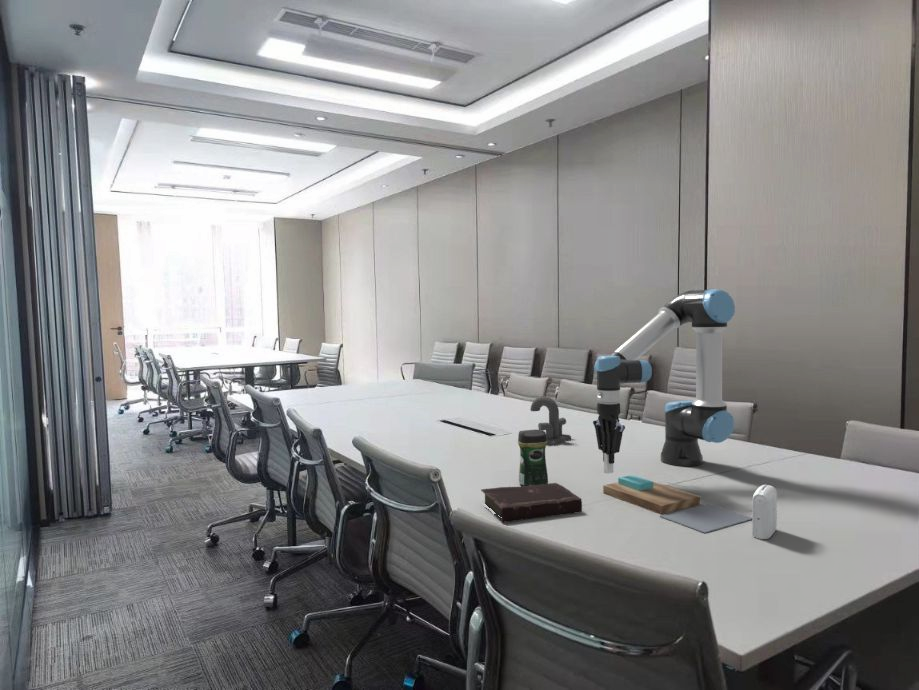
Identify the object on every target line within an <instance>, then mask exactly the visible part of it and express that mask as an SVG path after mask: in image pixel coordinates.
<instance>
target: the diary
mask: <svg viewBox="0 0 919 690" xmlns="http://www.w3.org/2000/svg"><path fill="white" fill-rule="evenodd" d="M480 491H481V492H482V493H483V494H484V503H485V504H486V505H487V506H488V507H489V508H491V509H492V510H493V511H494V512H495V513H496V514H497V515H499V516H500V517H502V518H501V519H502V520H500V522H501V521H502V522H501V523H505V522H504V521H509V522H513V521H512V520H516V521H521V519H523V520H530V519H539V517H540V518H545V517H546V516H547V517H554V516H560V514H562V515H568V514H567V513H570V514H576V513H575V512H579V513H582V511H583V500H582V498H581V497H579V496H578V495H576V494H574V493H573V492H572V491H570V489H568V488H566V487H565V486H563V485H562V484H559V483H557V482H552V483H551V482H550V483H549V482H548V484H540V485H531V486H522V485H521V486H503V487H502V486H499V487H492V488H482V489H480ZM497 515H496V516H497ZM553 515H554V516H553ZM547 517H546V518H547Z"/></svg>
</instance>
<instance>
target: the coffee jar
mask: <svg viewBox="0 0 919 690" xmlns="http://www.w3.org/2000/svg"><path fill="white" fill-rule="evenodd" d="M517 438H518V439H517V444H518V446H519V450H520V452H519V453H520V455H519V472H518V483H519V484H520V486H521V487H522V486H531V485H540V484H549V475H548V469H547V467H548V466H547V462H546V461H547V460H546V447H547V446H548V445H547V438H546V430H541V429H540V430H539V429H526V430H519V431H518V437H517Z"/></svg>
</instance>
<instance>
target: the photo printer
mask: <svg viewBox="0 0 919 690" xmlns="http://www.w3.org/2000/svg"><path fill="white" fill-rule="evenodd" d="M777 497H778V494H777V490H776V488H775V487H774V486H772V485H770V484H762V485H760V486H758V488H756V490H755V492H754V493H753V496H752V520H751V521H752V528H751V529H752V533H751V534H752V537H754V538H755V537H756V538H755V539H758V538H759V539H758V540H763V539H766V540H768V539H770V538H771V536H772V535H774V533H775V532H776V530H777V519H778V516H777V515H778V513H777V512H778V509H777V507H778V506H777V505H778V504H777V503H778V498H777Z"/></svg>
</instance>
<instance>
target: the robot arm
mask: <svg viewBox="0 0 919 690" xmlns="http://www.w3.org/2000/svg"><path fill="white" fill-rule="evenodd" d="M657 311H658V314H656V315H655V316H654V317H653V318H652V319H650V321H648V322H647V323H645V325H643V326H642V327H641V328H640V329H639V330H638V331H637V332H635V333H634V334H633V335H631V336H630V337H629V338H628V339H627V340H626V341H625V342H623V344H622V345H620V346H619V347H618V348H616V349H615V350H614V351H613V352H612V353H610V354H609V355H599V356H598V357H597V359H596V361H595V362H594V373H595V374H596V401H597V404H596V413H597V414H598V416H597V419H596V420H593V421H592V424H593V426H594V429H595V436H596V441H597V442H596V443H597V448H598V450H600V451H602V454H603V455H602V460H603V472H604V473H605V474H613V473H614V463H615V454H617V453H620V449H621V444H622V439H623V433H624V431H625V429H626V426H625V424H624V425H623V424H621V423H620V418H619V415H620V414H621V403H620V402H621V385H623V384H635V383H636V384H637V383H639V384H640V383H646V382H648V381H649V380H650V379H651V377H652V375H653V373H652V372H653V371H652V370H653V368H652V365H651V364H650V362H649V361H647V360H645V359H644V360H643V359H640V357H642V356H643V355H644V354H646V352H648V351H649V350H650V349H651V348H653V346H655V344H657V343H658V342H659V341H660V340H662V339H663V338H664V337H665V336H666V335H667V334H668V333H670V332H671V331H672V330H677V329H679V327H681V326H682V325H684V324H688V323H691V328H692V329H693V330H694V331H695V333H696V334H695V336H696V337H695V338H696V340H695V341H696V346H695V358H696V360H695V363H696V365H695V367H696V368H695V373H696V374H695V385H696V387H695V390H696V391H695V399H694V400H679V401H677V400H676V401H670V402H667V403H666V404H665V409H664V430H665V431H664V434H665V435H664V439H665V440H664V443H663V447H662V450H661V452H660V461H661V462H662V463H664V464H668V465H671V466H683V467H695V466H699V465H700V466H701V465H702V464H703V462H704V458H703V455H702V452H701V448H700V445H699V441H698V440H702V441H705V442H708V443H716V444H717V443H719V444H720V443H722V442H725V441H726V440H728V438H729V437H730V436H731V435H732V433H733V431H734V427H735V421H734V420H735V419H734V417H733V415H732V414H731V413H730V412H729V411H728V406H727V403H726V402H725V401H724V400H723V332H724V331H725V330H726V329H727V328H728V322H730V321H731V320H732V319H733V316H734V315H735V313H736V312H735V311H736V307H735V303H734V299H733V298H732V296H731V295H730V294H729V293H728V292H727V291H726V290H723V289H715V288H710V289H698V290H697V289H696V290H694V289H693V290H687V291H684V292H681V293H680V294H678V295H676V296H675V297H673V298H672V299H670V300H668V301H667V303H665V304H664V305H663V306H662V307H660V308H659V309H658V310H657Z"/></svg>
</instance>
